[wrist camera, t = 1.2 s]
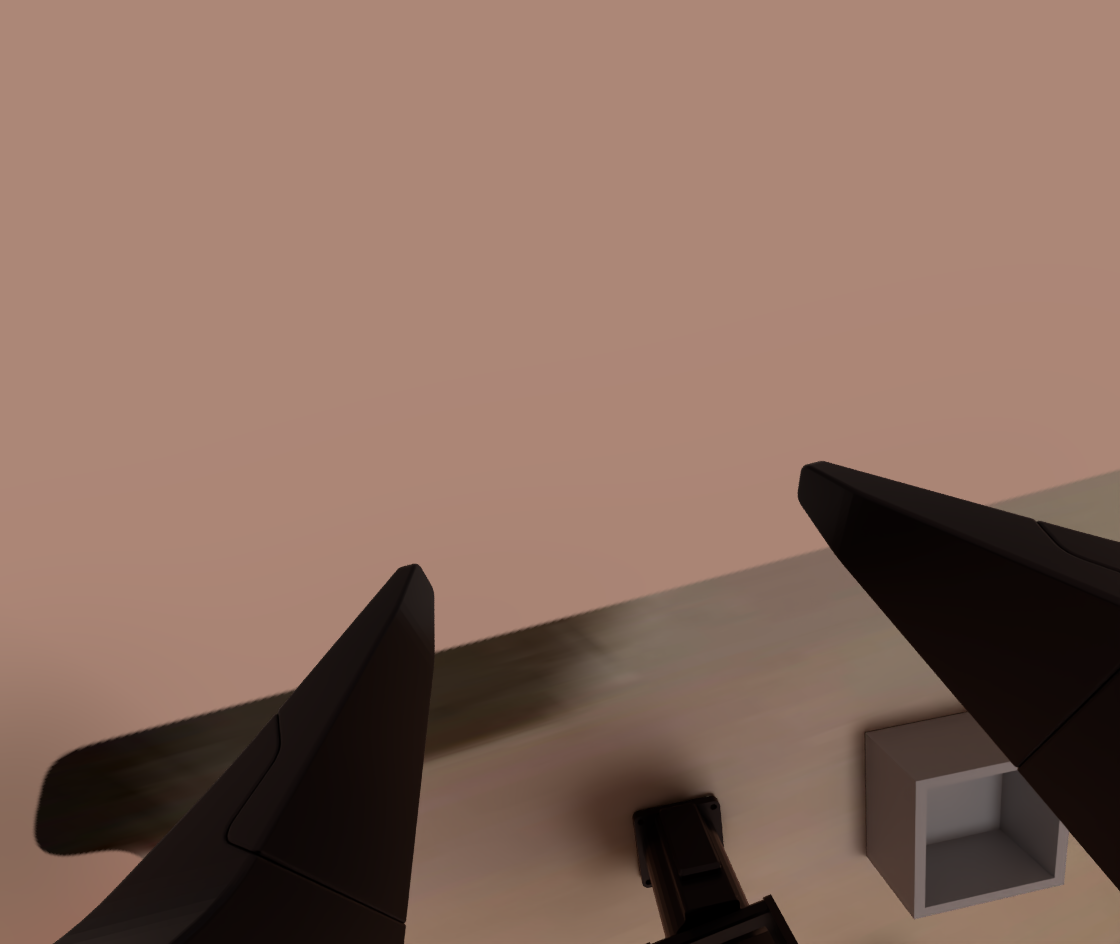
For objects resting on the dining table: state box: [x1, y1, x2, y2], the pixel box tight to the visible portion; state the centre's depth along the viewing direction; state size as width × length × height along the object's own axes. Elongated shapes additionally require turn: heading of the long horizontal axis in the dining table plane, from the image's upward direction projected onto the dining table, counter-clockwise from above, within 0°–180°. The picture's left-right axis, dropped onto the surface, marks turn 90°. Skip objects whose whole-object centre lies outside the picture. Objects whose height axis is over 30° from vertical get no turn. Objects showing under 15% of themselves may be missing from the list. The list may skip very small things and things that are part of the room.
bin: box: [865, 712, 1069, 919], centre depth 30 cm, size 12×12×4 cm
